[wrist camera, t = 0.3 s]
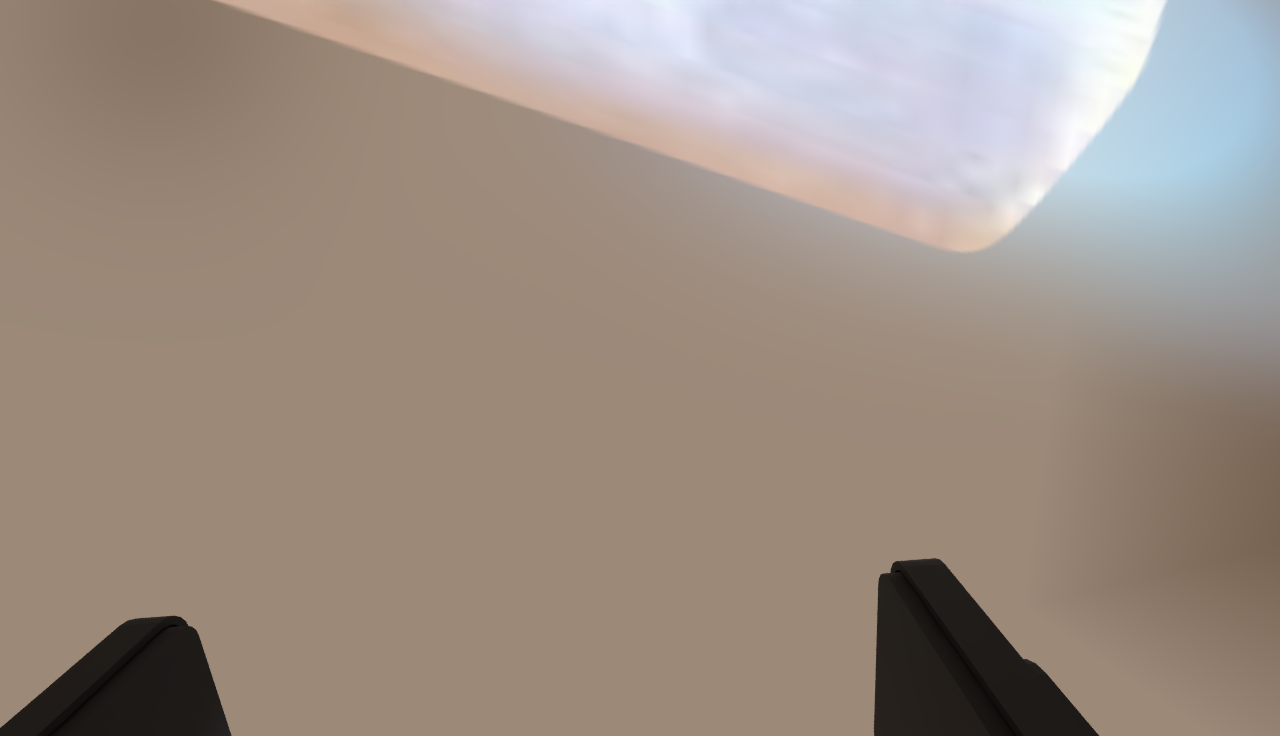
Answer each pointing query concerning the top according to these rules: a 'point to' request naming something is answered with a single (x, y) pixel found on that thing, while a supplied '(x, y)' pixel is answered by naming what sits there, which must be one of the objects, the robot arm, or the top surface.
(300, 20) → the top surface
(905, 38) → the top surface
